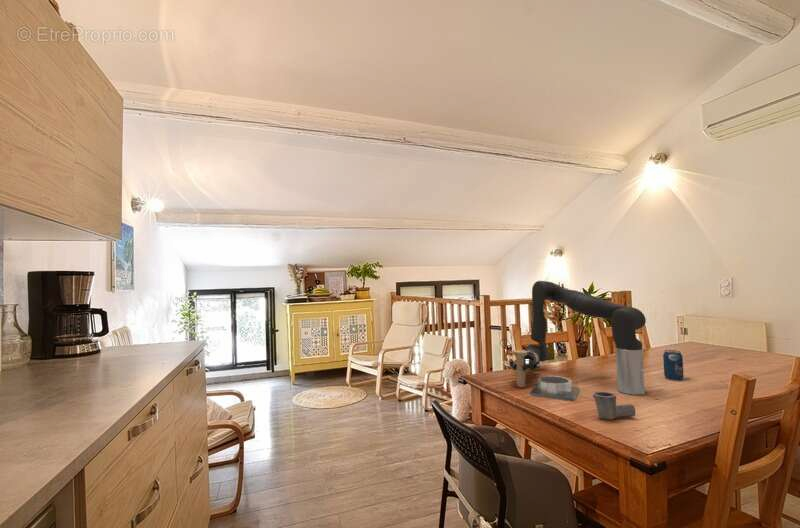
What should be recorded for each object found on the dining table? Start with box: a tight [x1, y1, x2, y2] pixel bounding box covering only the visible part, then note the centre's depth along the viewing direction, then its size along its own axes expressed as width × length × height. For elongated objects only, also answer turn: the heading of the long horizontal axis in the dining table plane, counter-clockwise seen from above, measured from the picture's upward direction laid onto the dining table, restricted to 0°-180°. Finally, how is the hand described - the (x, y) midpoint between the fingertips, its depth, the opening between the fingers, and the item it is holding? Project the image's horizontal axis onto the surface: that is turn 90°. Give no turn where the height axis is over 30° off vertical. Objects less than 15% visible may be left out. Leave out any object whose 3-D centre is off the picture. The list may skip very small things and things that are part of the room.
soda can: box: [662, 349, 685, 381], centre depth 165 cm, size 7×7×12 cm
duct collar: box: [529, 375, 580, 402], centre depth 152 cm, size 16×16×5 cm
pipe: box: [591, 391, 636, 421], centre depth 124 cm, size 6×13×8 cm, turn 89°
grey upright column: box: [511, 349, 527, 388], centre depth 161 cm, size 5×6×15 cm
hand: (518, 368), depth 159 cm, fingers closed on grey upright column, 3 cm apart
